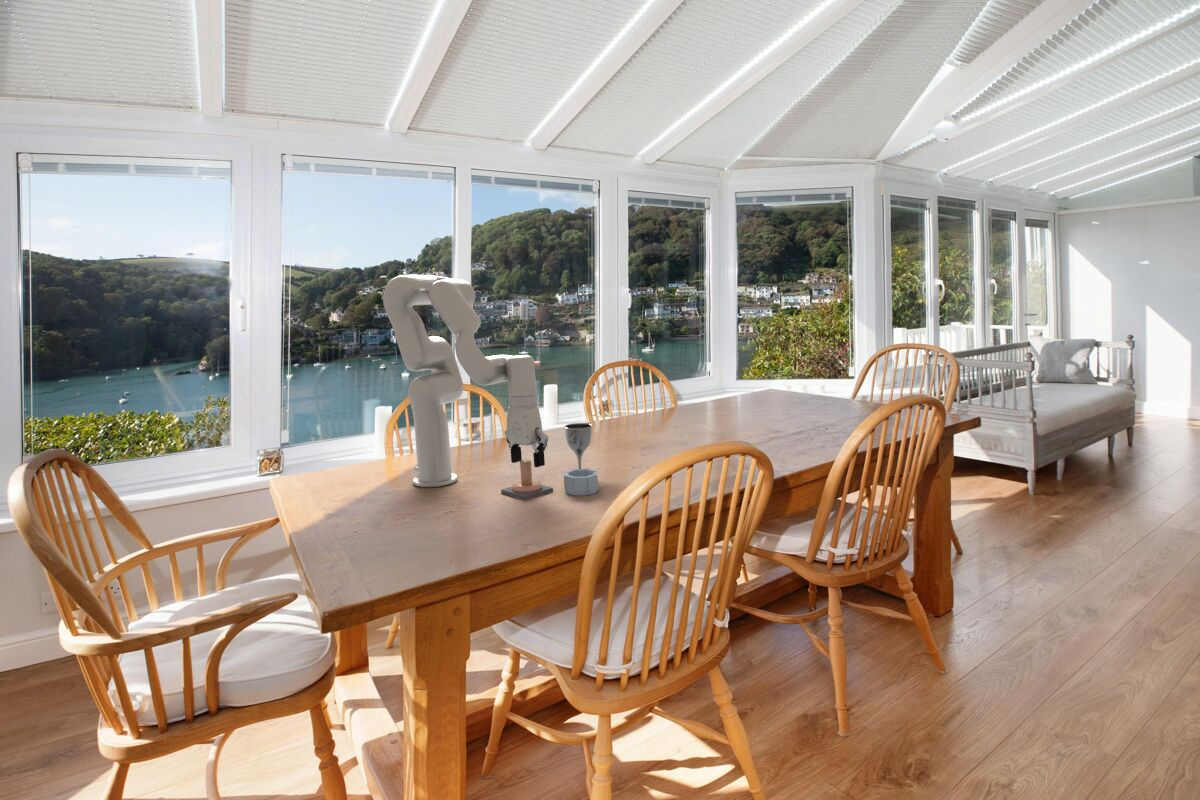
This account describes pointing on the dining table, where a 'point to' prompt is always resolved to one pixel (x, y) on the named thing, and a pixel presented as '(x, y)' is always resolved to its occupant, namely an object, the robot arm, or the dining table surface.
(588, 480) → the bowl
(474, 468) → the dining table surface
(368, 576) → the dining table surface
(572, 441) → the wine glass
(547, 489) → the mat
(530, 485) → the lid
